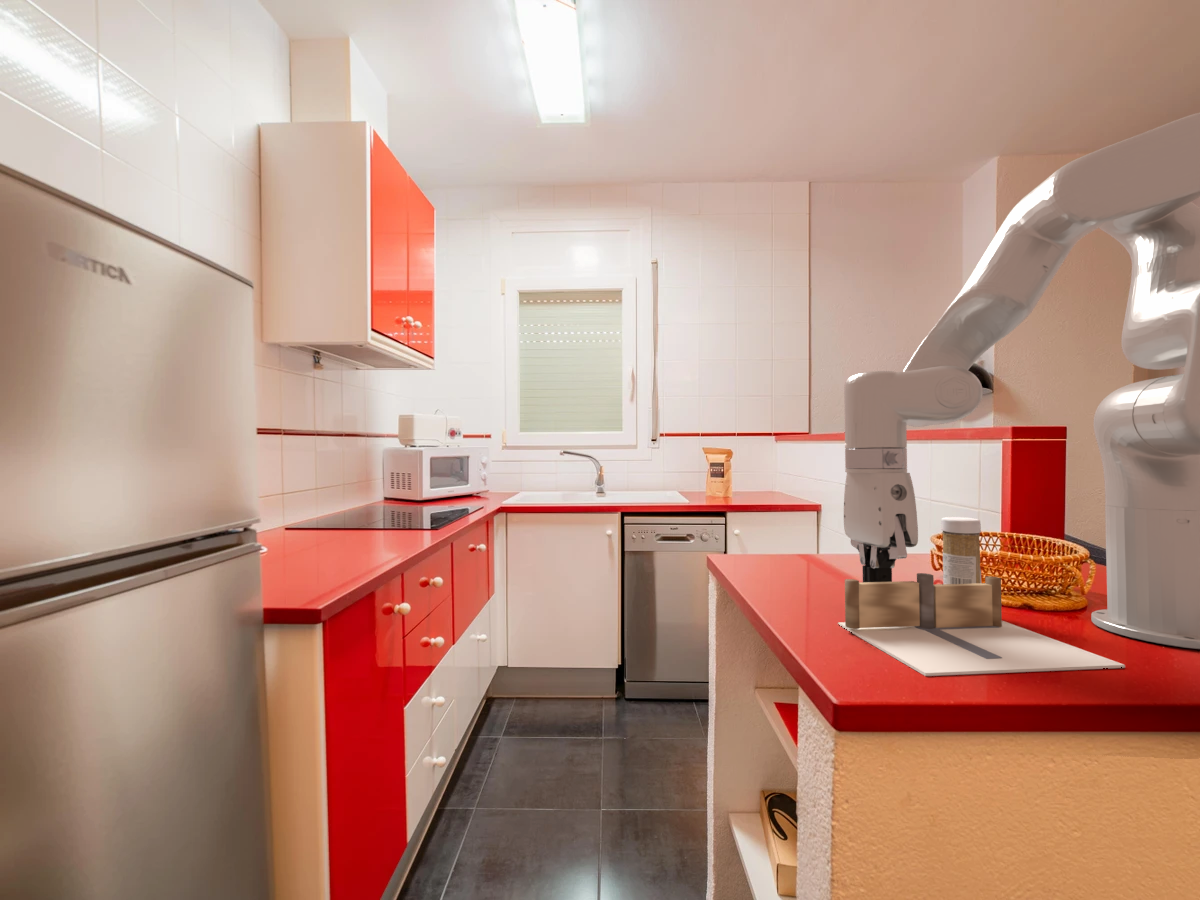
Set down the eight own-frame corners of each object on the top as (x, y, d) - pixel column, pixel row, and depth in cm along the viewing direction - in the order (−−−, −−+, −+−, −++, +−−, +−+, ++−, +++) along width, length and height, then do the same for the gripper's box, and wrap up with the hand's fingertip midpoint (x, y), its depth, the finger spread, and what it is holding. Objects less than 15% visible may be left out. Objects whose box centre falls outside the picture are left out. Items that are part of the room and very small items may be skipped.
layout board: (993, 619, 69) (993, 616, 69) (1124, 667, 53) (1124, 663, 53) (837, 624, 67) (837, 621, 67) (925, 676, 51) (925, 672, 51)
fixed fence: (993, 625, 67) (992, 571, 67) (1005, 629, 65) (1004, 574, 65) (914, 627, 66) (913, 573, 66) (924, 632, 64) (923, 576, 64)
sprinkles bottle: (988, 614, 71) (986, 518, 71) (974, 620, 68) (972, 520, 69) (951, 607, 75) (949, 515, 75) (936, 612, 72) (935, 517, 73)
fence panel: (912, 622, 66) (911, 577, 66) (921, 626, 64) (920, 580, 64) (842, 624, 65) (842, 579, 65) (850, 629, 63) (849, 582, 63)
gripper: (941, 462, 63) (944, 610, 63) (868, 461, 78) (870, 582, 78) (883, 462, 63) (886, 612, 62) (821, 462, 77) (823, 583, 77)
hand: (877, 595), depth 70 cm, fingers closed
